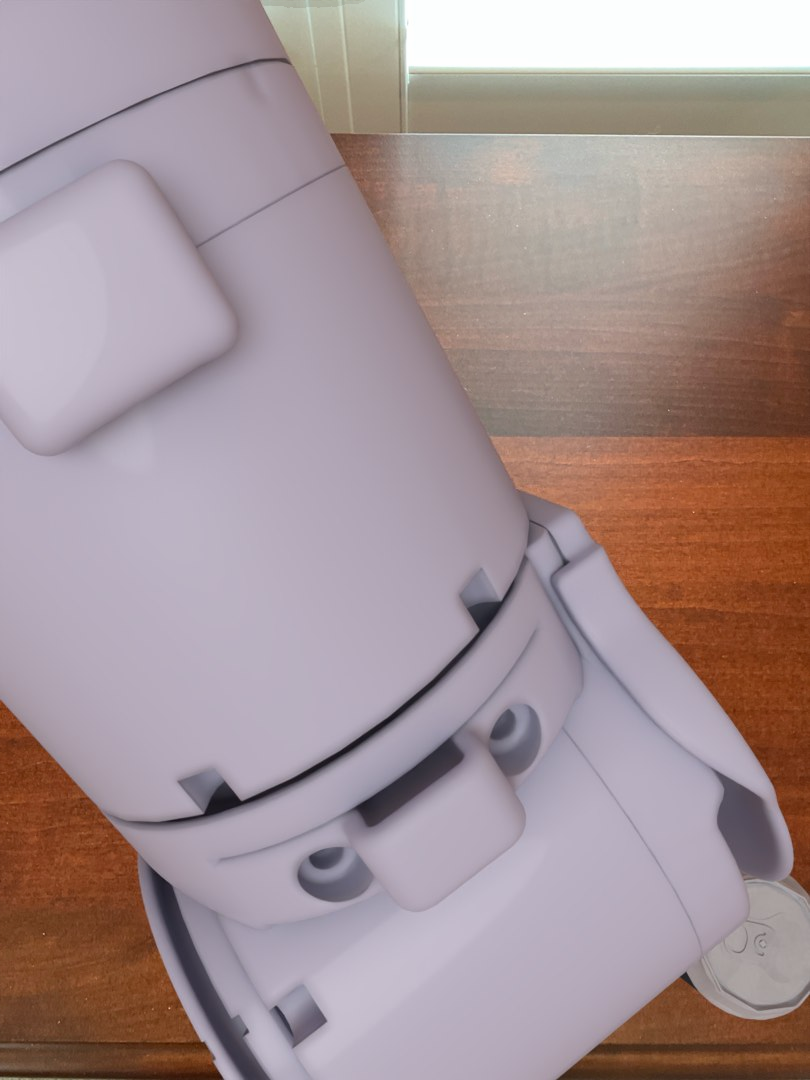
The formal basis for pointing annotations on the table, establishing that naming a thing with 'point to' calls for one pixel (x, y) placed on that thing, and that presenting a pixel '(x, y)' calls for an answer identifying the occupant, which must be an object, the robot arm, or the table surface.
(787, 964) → the beer can
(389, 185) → the table surface
